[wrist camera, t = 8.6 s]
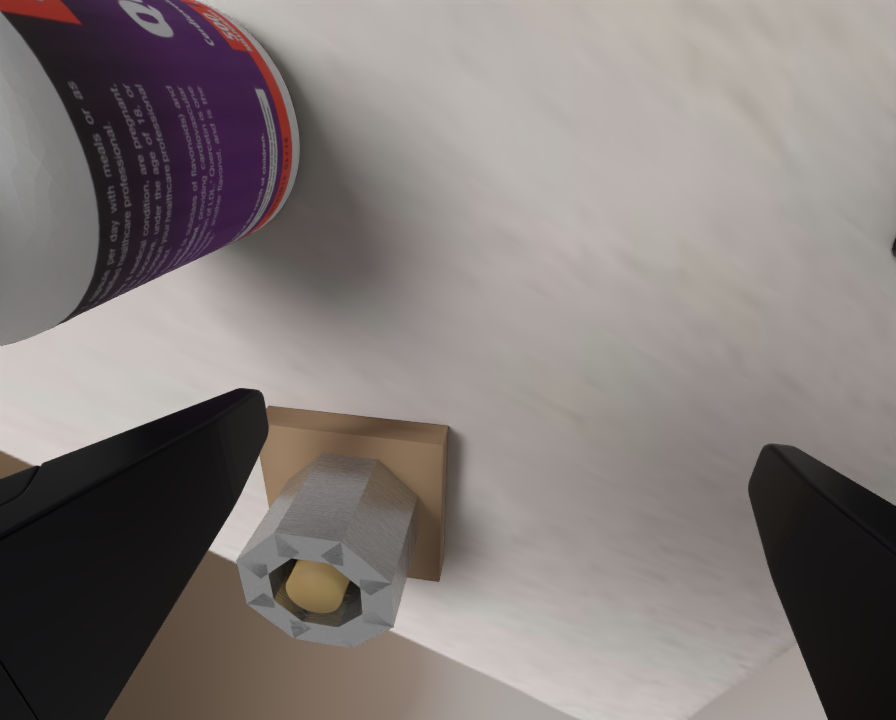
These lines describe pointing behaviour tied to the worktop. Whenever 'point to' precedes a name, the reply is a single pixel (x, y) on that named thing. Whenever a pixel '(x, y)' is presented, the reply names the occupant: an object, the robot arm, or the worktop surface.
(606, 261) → the worktop surface
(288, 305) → the worktop surface
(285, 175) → the pill bottle
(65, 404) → the worktop surface
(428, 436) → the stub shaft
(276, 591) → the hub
